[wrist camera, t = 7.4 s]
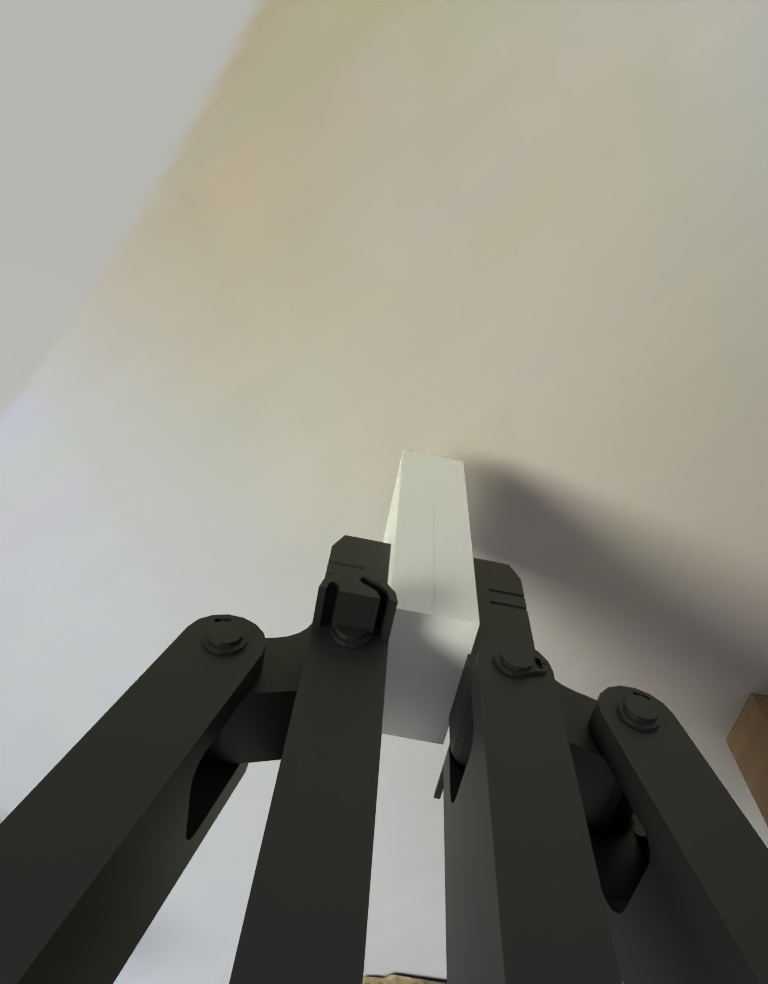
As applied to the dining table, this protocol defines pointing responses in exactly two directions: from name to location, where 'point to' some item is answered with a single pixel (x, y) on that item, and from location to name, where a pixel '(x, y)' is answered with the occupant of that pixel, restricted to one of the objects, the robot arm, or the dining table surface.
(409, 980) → the radio
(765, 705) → the bridge
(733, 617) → the dining table surface
